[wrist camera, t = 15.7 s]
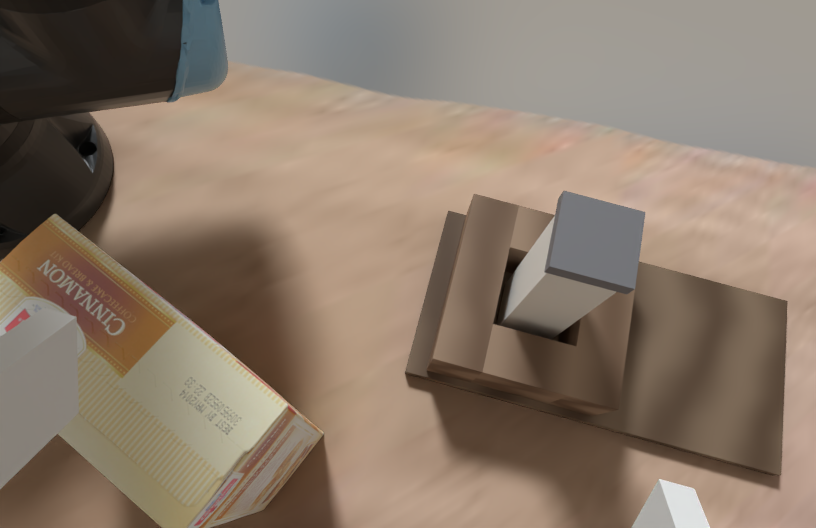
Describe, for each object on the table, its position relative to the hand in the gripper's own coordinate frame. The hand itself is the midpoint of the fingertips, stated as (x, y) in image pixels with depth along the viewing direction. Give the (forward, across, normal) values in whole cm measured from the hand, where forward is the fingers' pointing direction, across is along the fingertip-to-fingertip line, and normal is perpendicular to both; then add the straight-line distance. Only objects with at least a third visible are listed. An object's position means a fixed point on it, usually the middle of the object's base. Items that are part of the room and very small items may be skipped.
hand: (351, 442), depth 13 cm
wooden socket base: (+32, +16, -13) cm, 38 cm away
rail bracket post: (+31, +9, -12) cm, 35 cm away
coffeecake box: (+23, -12, -22) cm, 34 cm away
